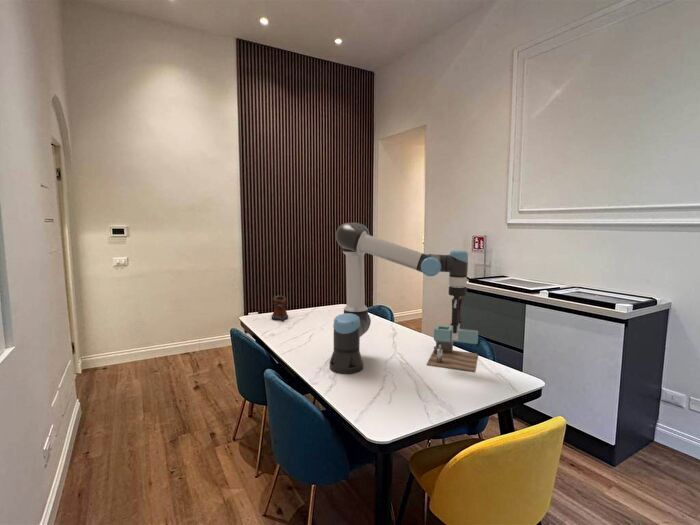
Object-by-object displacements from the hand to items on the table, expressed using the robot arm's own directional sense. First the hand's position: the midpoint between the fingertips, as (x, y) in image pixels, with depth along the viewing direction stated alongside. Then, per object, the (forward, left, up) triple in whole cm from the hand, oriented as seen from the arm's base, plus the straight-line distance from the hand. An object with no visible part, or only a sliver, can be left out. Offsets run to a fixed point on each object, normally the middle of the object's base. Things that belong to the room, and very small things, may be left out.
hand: (455, 338), depth 168 cm
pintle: (+6, +7, -14) cm, 18 cm away
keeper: (+21, +8, -14) cm, 26 cm away
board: (+13, +2, -14) cm, 20 cm away
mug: (+44, +116, -15) cm, 125 cm away
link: (0, 0, -1) cm, 1 cm away
